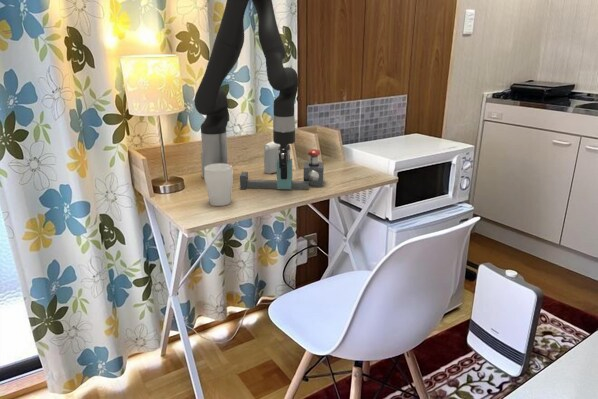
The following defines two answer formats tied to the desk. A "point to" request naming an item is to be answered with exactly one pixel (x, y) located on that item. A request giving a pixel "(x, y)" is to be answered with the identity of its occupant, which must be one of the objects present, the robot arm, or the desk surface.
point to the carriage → (287, 182)
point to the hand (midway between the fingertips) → (284, 176)
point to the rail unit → (311, 178)
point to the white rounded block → (271, 157)
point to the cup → (219, 183)
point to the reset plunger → (313, 157)
